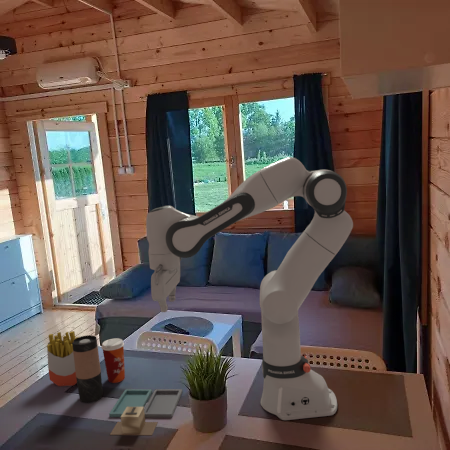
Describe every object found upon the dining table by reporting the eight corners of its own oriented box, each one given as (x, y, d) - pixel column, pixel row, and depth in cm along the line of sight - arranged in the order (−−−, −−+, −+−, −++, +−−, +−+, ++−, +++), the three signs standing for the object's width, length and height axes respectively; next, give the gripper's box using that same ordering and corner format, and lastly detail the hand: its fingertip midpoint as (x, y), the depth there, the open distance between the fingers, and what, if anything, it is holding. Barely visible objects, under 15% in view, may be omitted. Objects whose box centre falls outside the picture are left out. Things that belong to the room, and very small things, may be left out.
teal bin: (152, 393, 144) (152, 389, 144) (138, 418, 130) (138, 414, 130) (125, 393, 145) (125, 389, 145) (109, 418, 131) (109, 413, 131)
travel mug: (108, 396, 144) (101, 338, 141) (88, 407, 138) (80, 346, 135) (94, 389, 149) (87, 333, 146) (74, 400, 143) (66, 341, 140)
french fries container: (81, 385, 152) (74, 335, 150) (50, 387, 153) (43, 337, 150) (85, 379, 157) (79, 330, 154) (55, 380, 157) (49, 332, 155)
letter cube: (145, 422, 127) (143, 406, 126) (140, 433, 122) (138, 416, 121) (128, 422, 127) (126, 406, 127) (122, 433, 122) (120, 416, 122)
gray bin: (182, 393, 142) (182, 389, 142) (172, 419, 129) (171, 414, 129) (155, 393, 144) (155, 389, 143) (142, 418, 130) (141, 414, 130)
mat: (158, 424, 127) (157, 422, 127) (152, 437, 121) (151, 435, 121) (117, 423, 128) (117, 421, 128) (110, 436, 123) (109, 434, 122)
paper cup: (122, 386, 150) (117, 347, 148) (101, 385, 152) (96, 346, 150) (131, 374, 158) (127, 337, 156) (111, 374, 159) (107, 337, 157)
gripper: (165, 269, 120) (170, 318, 122) (182, 253, 140) (185, 295, 142) (143, 270, 121) (148, 318, 123) (163, 254, 141) (166, 295, 143)
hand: (168, 306), depth 133 cm, fingers open, 8 cm apart
